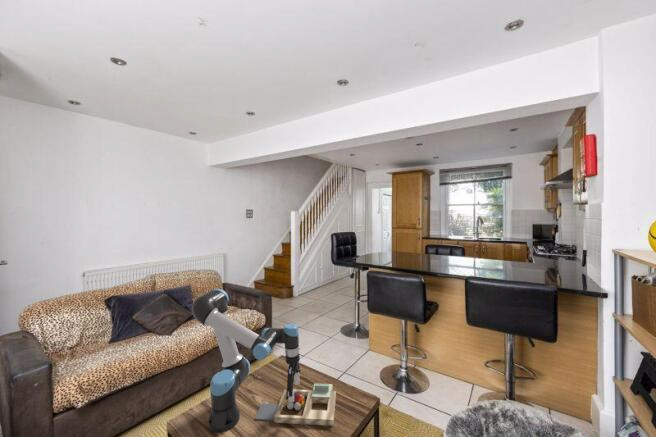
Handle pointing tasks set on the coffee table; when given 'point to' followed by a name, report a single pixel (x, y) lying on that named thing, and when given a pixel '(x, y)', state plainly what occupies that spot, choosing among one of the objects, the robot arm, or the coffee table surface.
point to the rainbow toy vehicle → (296, 402)
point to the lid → (321, 391)
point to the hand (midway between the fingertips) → (294, 392)
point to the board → (309, 410)
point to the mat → (266, 412)
